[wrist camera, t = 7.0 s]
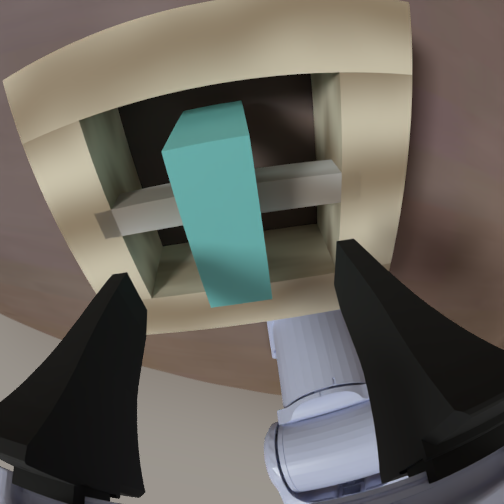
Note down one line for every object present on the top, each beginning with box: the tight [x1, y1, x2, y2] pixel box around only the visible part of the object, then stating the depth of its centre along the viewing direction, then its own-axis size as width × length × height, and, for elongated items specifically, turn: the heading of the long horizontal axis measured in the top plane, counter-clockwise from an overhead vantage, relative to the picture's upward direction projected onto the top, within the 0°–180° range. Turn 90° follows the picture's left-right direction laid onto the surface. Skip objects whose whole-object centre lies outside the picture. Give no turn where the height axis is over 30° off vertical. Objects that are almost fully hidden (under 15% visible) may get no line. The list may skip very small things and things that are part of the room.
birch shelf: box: [3, 0, 412, 335], centre depth 16 cm, size 18×18×5 cm
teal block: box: [162, 100, 272, 308], centre depth 15 cm, size 8×3×6 cm, turn 8°
